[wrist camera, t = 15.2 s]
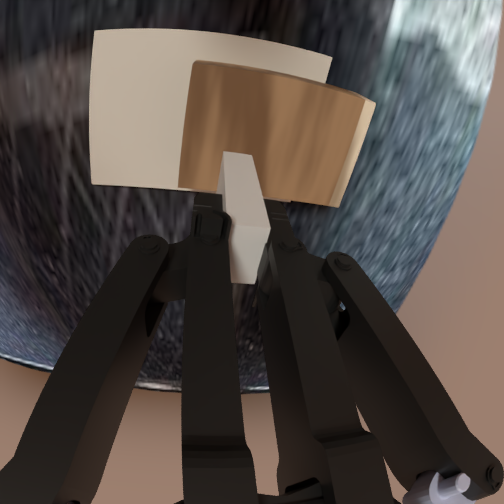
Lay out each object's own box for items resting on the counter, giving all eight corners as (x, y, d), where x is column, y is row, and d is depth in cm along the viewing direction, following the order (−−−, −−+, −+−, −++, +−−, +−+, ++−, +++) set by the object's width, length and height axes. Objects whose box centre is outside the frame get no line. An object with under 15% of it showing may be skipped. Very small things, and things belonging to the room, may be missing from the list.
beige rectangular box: (177, 187, 24) (338, 207, 26) (192, 63, 17) (376, 103, 20) (182, 167, 27) (325, 186, 29) (196, 59, 20) (356, 92, 23)
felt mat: (93, 181, 27) (91, 184, 26) (97, 30, 17) (94, 30, 17) (289, 199, 31) (290, 202, 30) (329, 56, 21) (332, 57, 21)
